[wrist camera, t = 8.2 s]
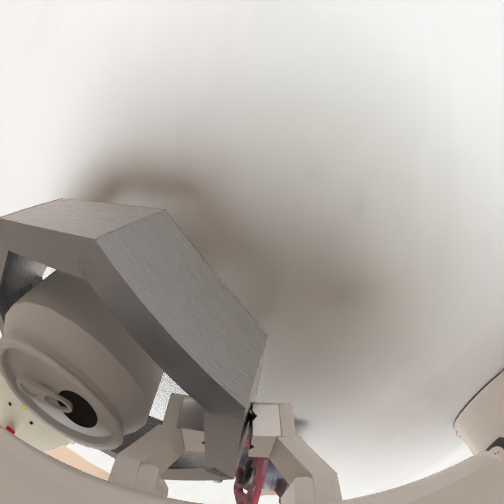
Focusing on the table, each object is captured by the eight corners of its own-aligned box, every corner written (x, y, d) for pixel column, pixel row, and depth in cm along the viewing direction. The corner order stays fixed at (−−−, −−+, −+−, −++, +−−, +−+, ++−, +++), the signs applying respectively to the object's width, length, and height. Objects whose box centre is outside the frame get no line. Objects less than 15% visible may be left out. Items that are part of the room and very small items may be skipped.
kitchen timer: (120, 390, 23) (71, 511, 9) (80, 419, 26) (43, 500, 12) (20, 296, 19) (-70, 388, 5) (4, 351, 23) (-50, 421, 9)
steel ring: (284, 226, 8) (266, 271, 5) (244, 454, 13) (230, 501, 10) (21, 195, 11) (-29, 210, 7) (67, 382, 15) (41, 410, 12)
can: (170, 336, 20) (119, 474, 8) (88, 287, 18) (-5, 392, 7) (215, 259, 17) (164, 421, 6) (117, 202, 16) (-29, 284, 5)
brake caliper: (191, 420, 20) (273, 524, 12) (280, 386, 27) (357, 458, 19) (181, 463, 24) (238, 538, 16) (253, 434, 31) (309, 494, 23)
